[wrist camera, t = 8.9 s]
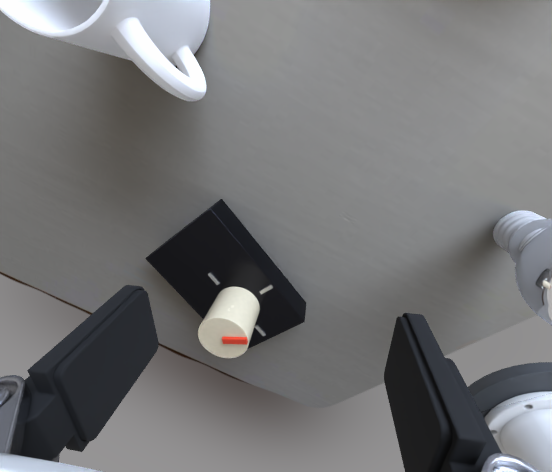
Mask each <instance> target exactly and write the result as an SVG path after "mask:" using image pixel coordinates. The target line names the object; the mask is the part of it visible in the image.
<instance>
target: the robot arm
mask: <svg viewBox="0 0 552 472" xmlns="http://www.w3.org/2000/svg"><path fill="white" fill-rule="evenodd" d="M157 349H158V338H157V334H156V329H155V325H154V320H153V316H152V311H151V307H150V302H149V298H148V293H147V292H146V291H144V288H143V287H141V286H131V285H126V286H124V287H123V288H122V289H121V290H119V291H118V292H117V293H116V294H115V295H114V296H113V297H111V298H110V299H109V300H108V301H107V302H106V303H105V304H103V305H102V306H101V307H100V308H99V309H98V310H96V311H95V312H94V313H93V314H92V315H91V316H90V317H88V318H87V319H86V320H85V321H84V322H83V323H82V324H80V325H79V326H78V327H77V328H76V329H75V330H74V331H72V332H71V333H70V334H69V335H68V336H67V337H65V338H64V339H63V340H62V341H61V342H60V343H58V344H57V345H56V346H55V347H54V348H53V349H52V350H51V351H49V352H48V353H47V354H46V355H45V356H43V357H42V358H41V359H40V360H39V361H38V362H37V363H35V364H34V365H33V366H32V367H31V368H30V369H29V370H28V373H29V375H30V376H29V377H28V378H27V379H26V380H24V379H23V378H22V377H20V376H16V375H12V376H5V377H1V378H0V472H104V471H99V470H94V469H89V468H84V467H79V466H74V465H69V464H64V463H59V454H60V452H61V451H62V450H63V448H64V447H65V446H66V448H67V449H70V450H75V451H80V452H82V451H83V450H84V449H85V447H86V446H87V444H88V443H89V441H92V440H94V439H95V438H96V437H97V436H98V434H99V433H100V431H101V430H102V429H103V427H104V426H105V424H106V423H107V421H108V420H109V419H110V417H111V416H112V414H113V413H114V411H115V410H116V409H117V407H118V406H119V404H120V403H121V401H122V399H123V398H124V397H125V395H126V394H127V393H128V391H129V390H130V389H131V387H132V386H133V384H134V383H135V381H136V380H137V379H138V377H139V376H140V374H141V373H142V371H143V370H144V369H145V367H146V366H147V364H148V363H149V361H150V360H151V358H152V357H153V356H154V354H155V353H156V351H157ZM384 381H385V385H386V390H387V395H388V399H389V403H390V407H391V412H392V416H393V421H394V425H395V429H396V434H397V438H398V442H399V447H400V451H401V455H402V460H403V464H404V468H405V472H552V391H543V392H533V393H527V394H523V395H519V396H516V397H513V398H510V399H508V400H505V401H504V402H502V403H500V404H498V405H497V406H495V407H494V408H493V409H492V410H491V411H490V412H489V413H488V414H487V415H486V416H485V418H483V416H482V414H481V412H480V410H479V408H478V406H477V404H476V403H475V401H474V399H473V397H472V395H471V393H470V391H469V389H468V387H467V386H466V384H465V382H464V380H463V378H462V376H461V374H460V373H459V370H458V369H457V367H456V365H455V363H454V362H453V361H452V360H451V359H448V358H445V357H444V355H443V353H442V351H441V349H440V347H439V345H438V343H437V341H436V339H435V337H434V335H433V333H432V331H431V329H430V327H429V325H428V323H427V321H426V319H425V317H424V316H423V315H420V314H410V313H404V314H403V316H402V317H397V320H396V324H395V328H394V333H393V337H392V341H391V346H390V350H389V354H388V359H387V363H386V367H385V372H384Z"/></svg>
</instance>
